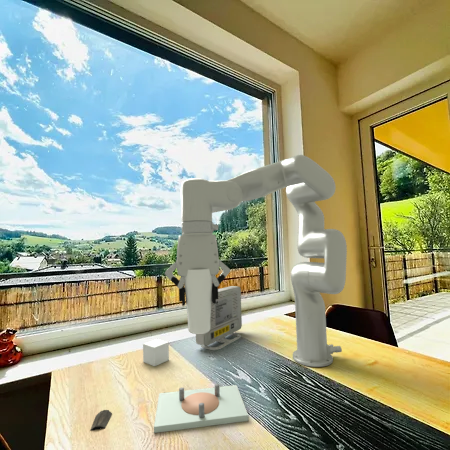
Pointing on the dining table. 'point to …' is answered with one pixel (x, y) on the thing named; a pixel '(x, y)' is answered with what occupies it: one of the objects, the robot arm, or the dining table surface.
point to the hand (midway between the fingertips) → (198, 302)
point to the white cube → (155, 352)
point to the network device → (223, 319)
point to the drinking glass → (198, 300)
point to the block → (101, 420)
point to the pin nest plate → (199, 408)
